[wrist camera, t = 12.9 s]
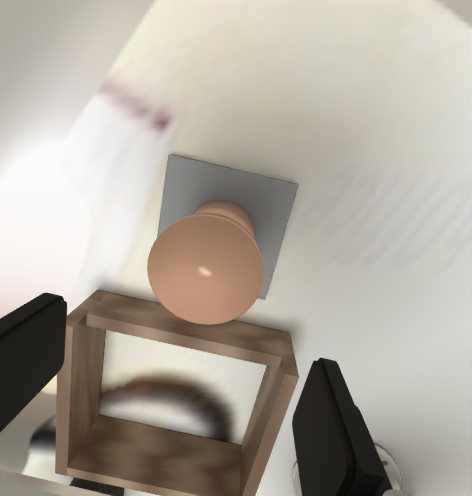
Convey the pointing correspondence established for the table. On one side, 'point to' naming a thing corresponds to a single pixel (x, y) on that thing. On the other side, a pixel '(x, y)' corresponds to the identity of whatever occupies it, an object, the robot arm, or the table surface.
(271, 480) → the table surface
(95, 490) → the travel mug
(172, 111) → the table surface
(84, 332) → the brown wooden square frame
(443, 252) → the table surface
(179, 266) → the terracotta pot
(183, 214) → the slate mat
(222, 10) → the table surface
